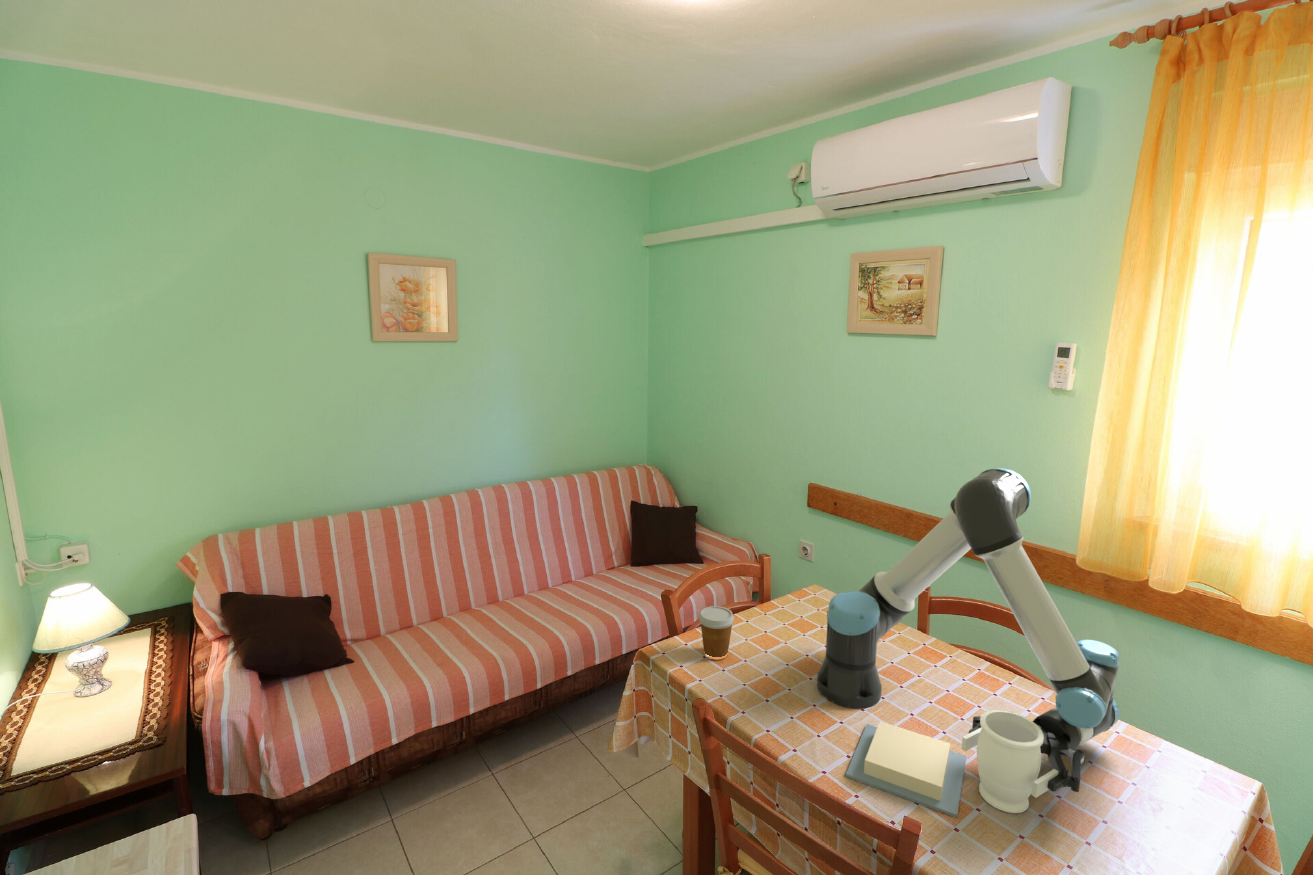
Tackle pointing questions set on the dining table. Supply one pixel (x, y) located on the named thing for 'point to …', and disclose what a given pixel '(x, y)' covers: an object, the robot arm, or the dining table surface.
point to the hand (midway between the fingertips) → (997, 765)
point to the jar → (1008, 759)
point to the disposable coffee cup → (716, 630)
